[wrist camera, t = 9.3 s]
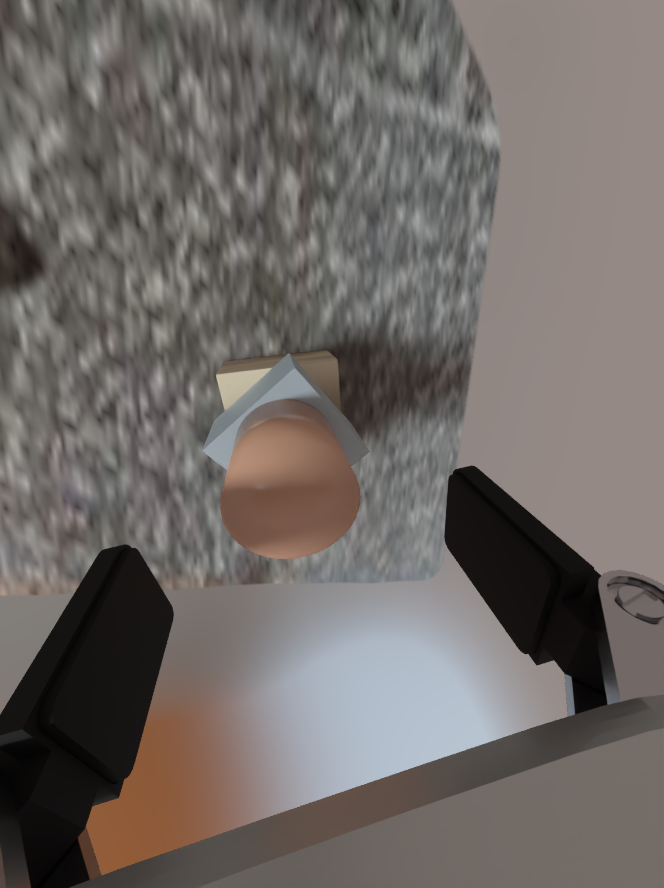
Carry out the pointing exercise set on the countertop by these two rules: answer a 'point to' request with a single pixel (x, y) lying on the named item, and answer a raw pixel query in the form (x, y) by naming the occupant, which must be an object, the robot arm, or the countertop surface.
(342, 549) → the countertop surface
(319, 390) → the tower top block
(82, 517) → the countertop surface
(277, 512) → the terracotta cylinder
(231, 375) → the tower base block
